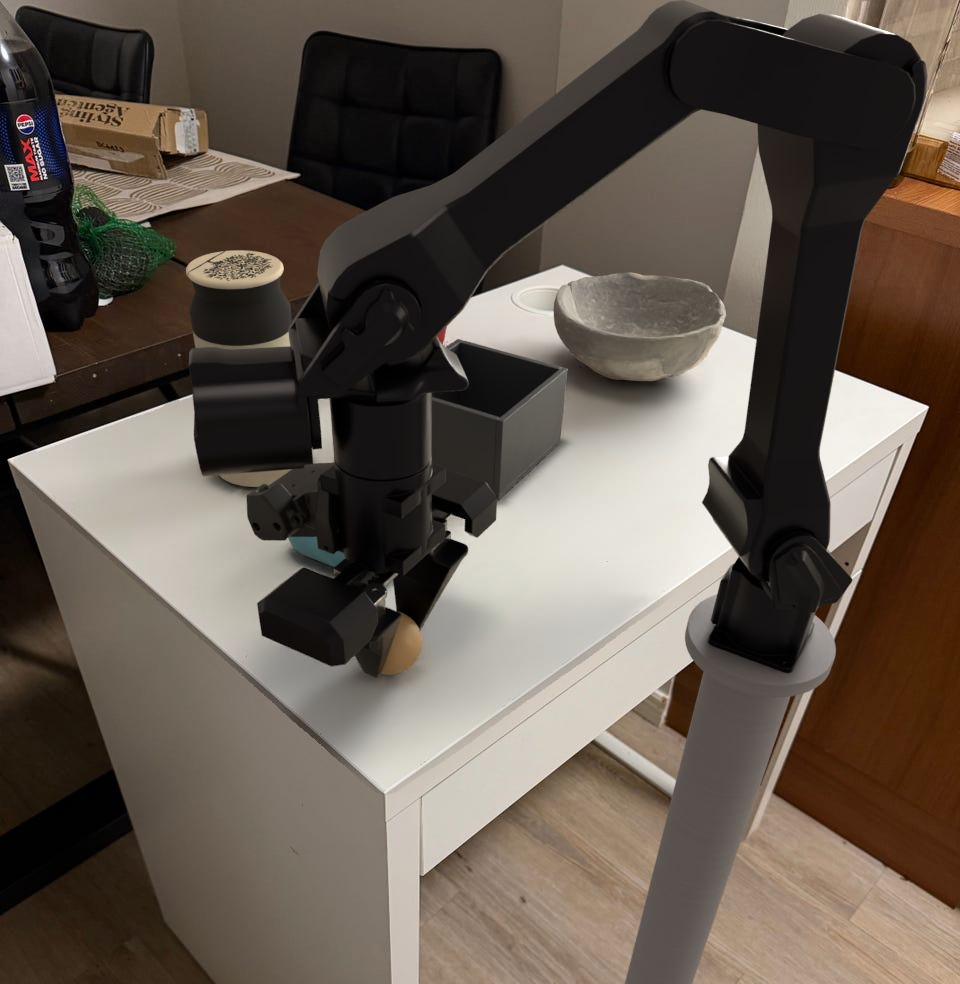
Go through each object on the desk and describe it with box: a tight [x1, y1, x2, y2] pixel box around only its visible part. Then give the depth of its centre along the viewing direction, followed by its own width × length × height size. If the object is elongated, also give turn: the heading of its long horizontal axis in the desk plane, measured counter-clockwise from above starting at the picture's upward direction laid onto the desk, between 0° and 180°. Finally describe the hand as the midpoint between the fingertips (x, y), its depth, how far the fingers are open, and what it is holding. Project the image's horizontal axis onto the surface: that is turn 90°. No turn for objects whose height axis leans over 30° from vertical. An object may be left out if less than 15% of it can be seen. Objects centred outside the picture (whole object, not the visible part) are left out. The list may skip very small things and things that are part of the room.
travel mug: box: [185, 249, 293, 488], centre depth 80 cm, size 8×8×18 cm
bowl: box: [553, 272, 727, 382], centre depth 102 cm, size 18×18×8 cm
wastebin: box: [432, 338, 569, 501], centre depth 87 cm, size 12×12×8 cm
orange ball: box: [380, 611, 423, 676], centre depth 65 cm, size 4×4×4 cm
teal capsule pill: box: [288, 537, 345, 568], centre depth 74 cm, size 10×4×4 cm, turn 60°
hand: (390, 655), depth 66 cm, fingers closed on orange ball, 4 cm apart
